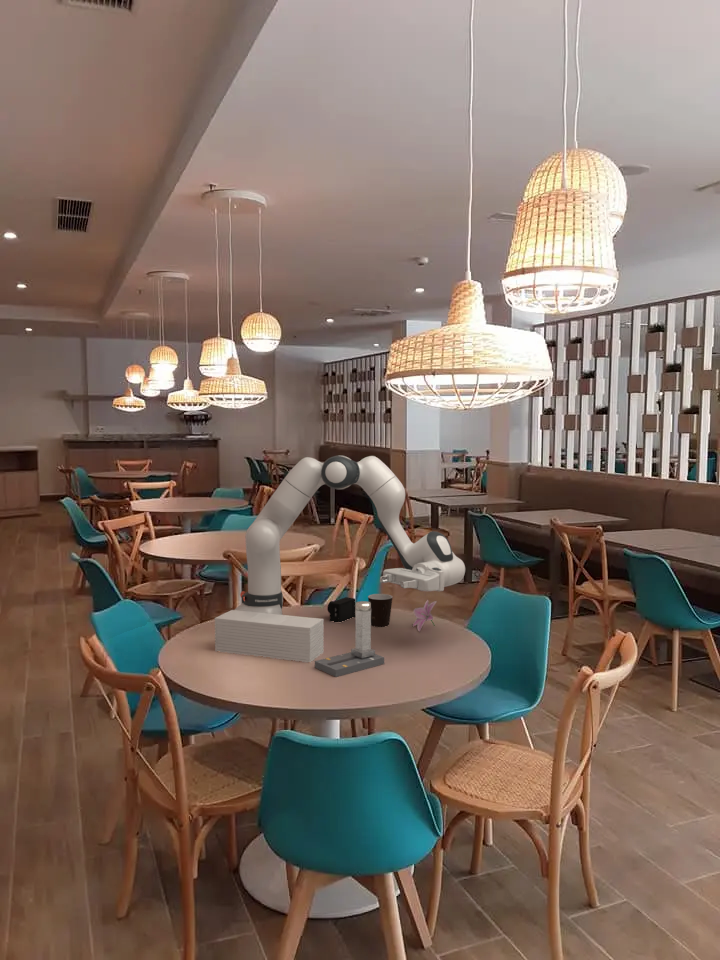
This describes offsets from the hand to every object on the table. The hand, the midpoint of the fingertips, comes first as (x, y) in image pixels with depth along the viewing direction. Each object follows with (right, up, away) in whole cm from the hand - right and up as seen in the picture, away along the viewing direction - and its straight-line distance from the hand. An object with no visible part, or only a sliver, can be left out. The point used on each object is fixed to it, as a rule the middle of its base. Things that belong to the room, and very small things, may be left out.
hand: (391, 582), depth 225 cm
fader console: (-13, -23, -8) cm, 28 cm away
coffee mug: (-3, -20, +34) cm, 40 cm away
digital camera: (-16, -19, +43) cm, 50 cm away
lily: (+13, -20, +32) cm, 40 cm away
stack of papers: (-38, -23, +5) cm, 44 cm away
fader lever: (-9, -21, -5) cm, 23 cm away
